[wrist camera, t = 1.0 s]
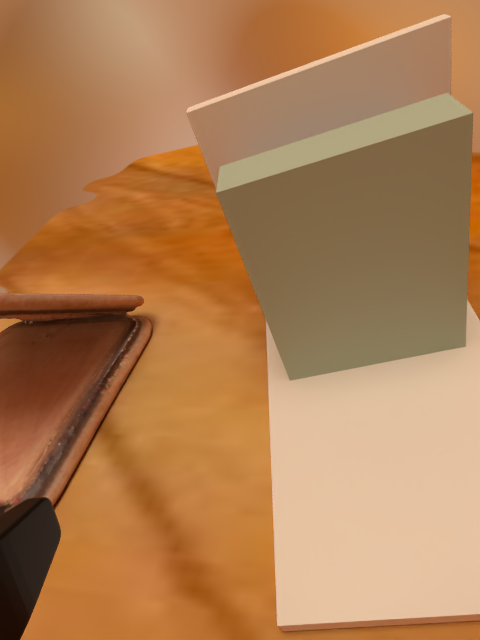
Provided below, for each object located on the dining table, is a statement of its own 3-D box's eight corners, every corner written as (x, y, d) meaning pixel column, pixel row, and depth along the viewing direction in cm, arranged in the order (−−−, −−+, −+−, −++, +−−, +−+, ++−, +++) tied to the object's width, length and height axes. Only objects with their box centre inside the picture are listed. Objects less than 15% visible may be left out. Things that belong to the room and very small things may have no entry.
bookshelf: (641, 611, 16) (1033, 240, 5) (283, 631, 19) (68, 426, 8) (444, 271, 32) (441, 12, 22) (268, 312, 35) (189, 105, 25)
